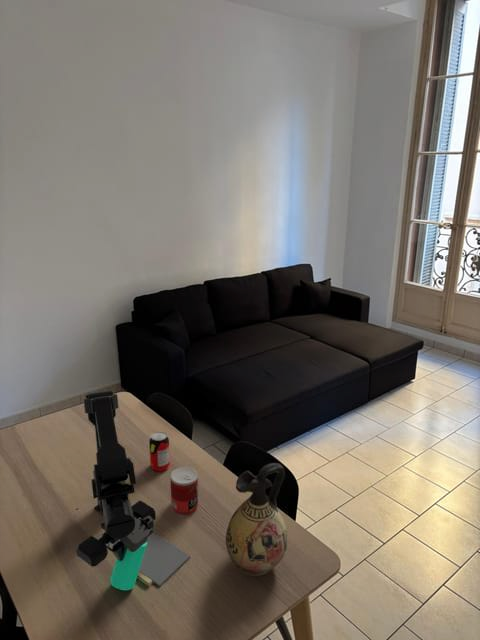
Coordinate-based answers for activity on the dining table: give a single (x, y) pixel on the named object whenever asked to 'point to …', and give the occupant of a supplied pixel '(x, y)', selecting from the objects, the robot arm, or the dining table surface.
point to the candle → (127, 569)
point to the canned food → (184, 490)
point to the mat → (161, 559)
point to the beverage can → (159, 451)
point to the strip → (144, 579)
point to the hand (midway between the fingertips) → (120, 559)
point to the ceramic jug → (257, 524)
